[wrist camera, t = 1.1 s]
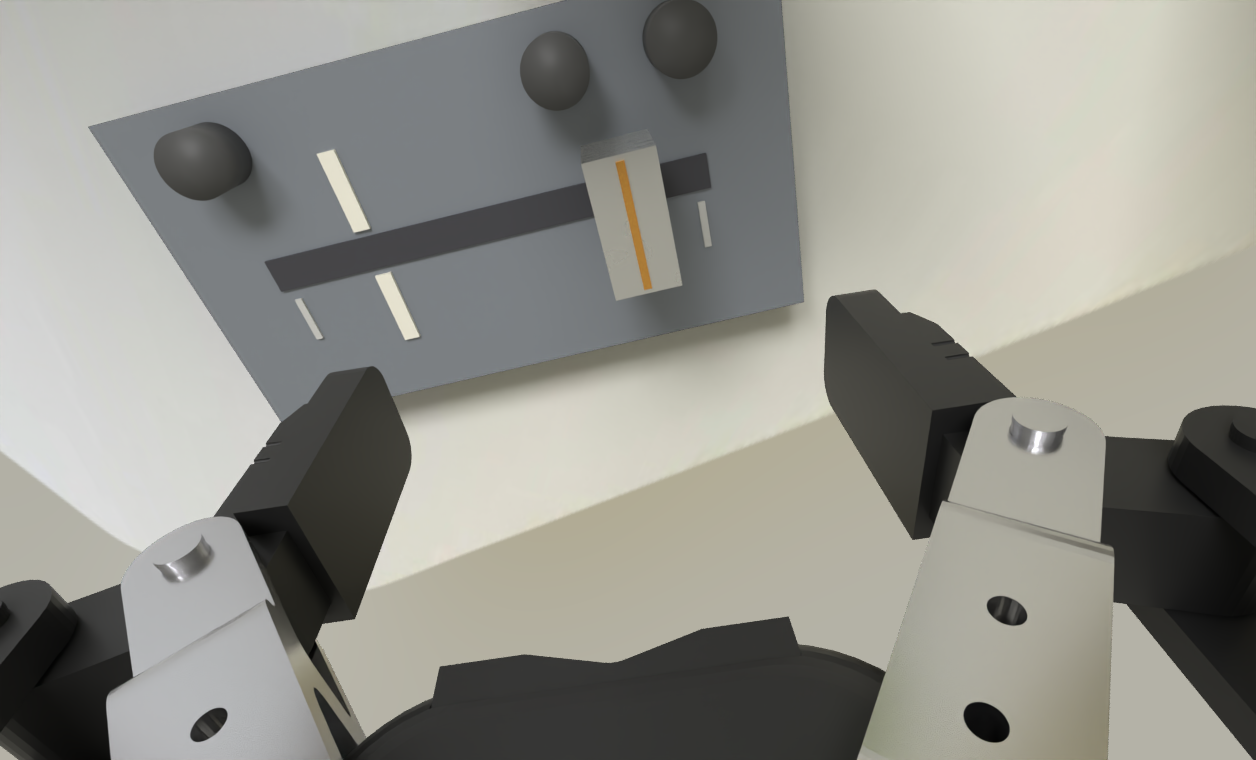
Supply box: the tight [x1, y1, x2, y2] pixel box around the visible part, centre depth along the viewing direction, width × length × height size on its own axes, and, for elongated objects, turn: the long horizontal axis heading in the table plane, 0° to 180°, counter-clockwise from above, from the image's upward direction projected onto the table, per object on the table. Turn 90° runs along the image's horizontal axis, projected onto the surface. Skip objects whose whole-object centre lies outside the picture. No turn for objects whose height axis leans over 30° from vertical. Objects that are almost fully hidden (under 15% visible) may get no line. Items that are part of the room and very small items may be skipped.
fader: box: [581, 129, 682, 301], centre depth 23 cm, size 2×5×5 cm, turn 13°
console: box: [89, 0, 804, 422], centre depth 26 cm, size 26×14×4 cm, turn 103°
